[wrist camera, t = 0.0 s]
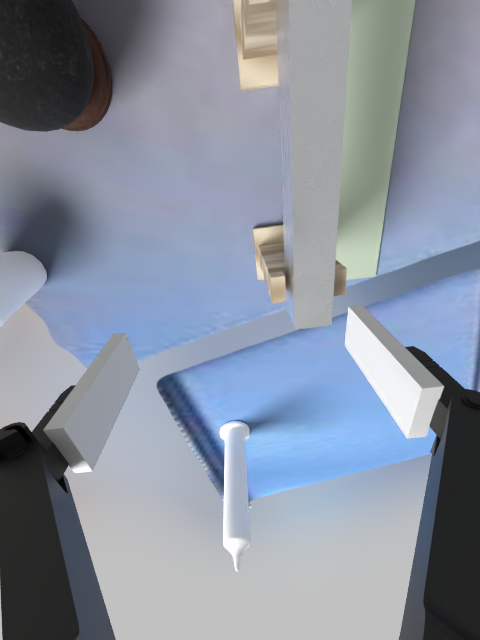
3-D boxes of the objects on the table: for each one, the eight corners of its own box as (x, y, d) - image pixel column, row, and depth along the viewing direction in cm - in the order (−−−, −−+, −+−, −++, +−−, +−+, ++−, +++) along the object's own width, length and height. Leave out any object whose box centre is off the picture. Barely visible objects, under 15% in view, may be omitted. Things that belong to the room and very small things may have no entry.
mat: (342, -52, 26) (344, -56, 26) (422, -65, 26) (425, -69, 26) (326, 281, 44) (327, 282, 44) (374, 275, 44) (375, 276, 43)
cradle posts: (232, -6, 28) (234, -167, 15) (317, -19, 28) (395, -194, 14) (257, 278, 43) (269, 323, 30) (311, 271, 43) (347, 313, 30)
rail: (271, -122, 17) (285, -222, 13) (332, -132, 17) (367, -237, 13) (286, 309, 33) (294, 329, 28) (318, 305, 33) (331, 325, 28)
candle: (217, 438, 63) (210, 579, 41) (222, 418, 59) (218, 560, 38) (246, 441, 64) (254, 581, 42) (252, 422, 60) (265, 562, 39)
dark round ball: (132, 138, 34) (70, 114, 20) (29, 143, 34) (-100, 123, 20) (101, -16, 27) (-19, -193, 14) (-27, -10, 27) (-267, -183, 14)
